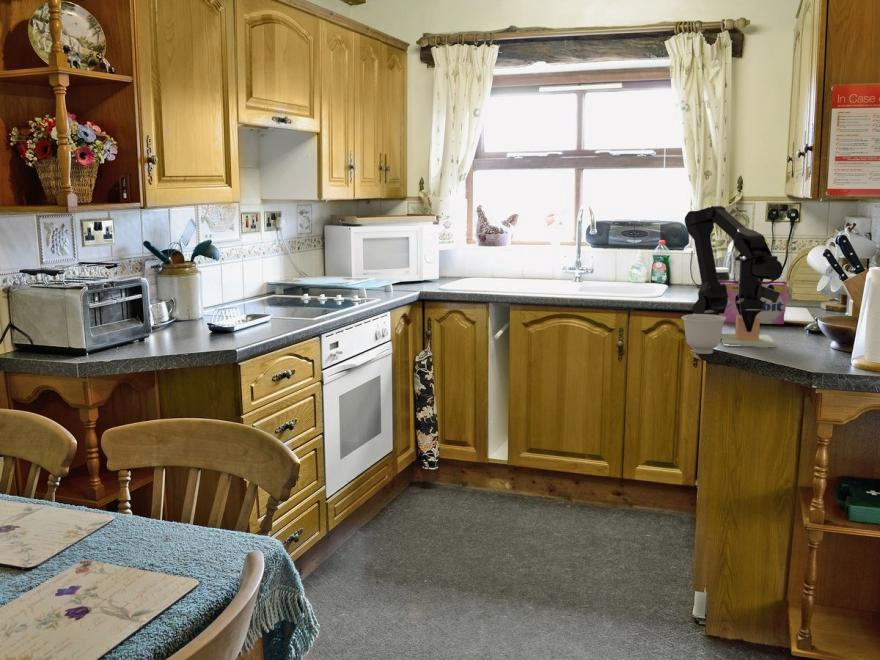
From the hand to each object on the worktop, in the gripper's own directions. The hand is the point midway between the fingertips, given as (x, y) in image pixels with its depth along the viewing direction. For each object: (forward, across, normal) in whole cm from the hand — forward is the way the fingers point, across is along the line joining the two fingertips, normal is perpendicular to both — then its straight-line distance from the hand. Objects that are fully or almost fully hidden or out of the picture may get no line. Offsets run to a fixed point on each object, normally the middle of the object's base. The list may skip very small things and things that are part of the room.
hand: (747, 329), depth 245 cm
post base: (+4, 0, 0) cm, 4 cm away
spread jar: (+4, +107, +1) cm, 107 cm away
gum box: (+4, +40, -5) cm, 41 cm away
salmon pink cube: (+3, 0, 0) cm, 3 cm away
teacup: (+4, -15, +14) cm, 21 cm away
